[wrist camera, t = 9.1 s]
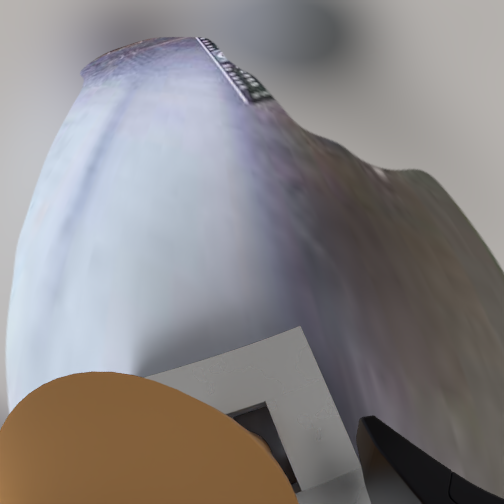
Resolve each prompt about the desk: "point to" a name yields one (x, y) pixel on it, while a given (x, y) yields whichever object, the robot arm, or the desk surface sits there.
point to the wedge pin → (131, 448)
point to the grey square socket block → (283, 410)
